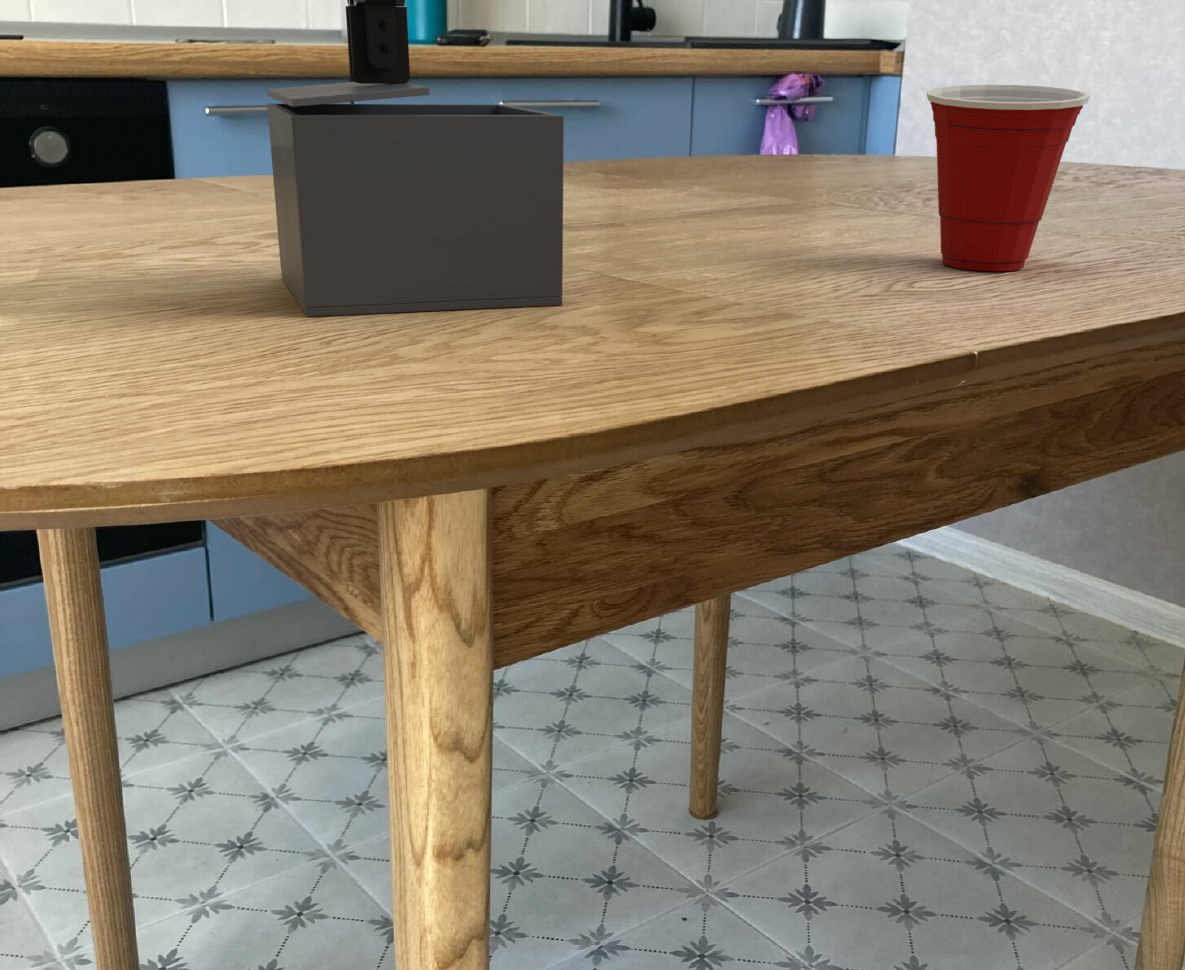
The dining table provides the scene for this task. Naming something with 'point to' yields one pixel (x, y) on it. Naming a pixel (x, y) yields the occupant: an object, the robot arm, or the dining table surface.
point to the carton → (418, 206)
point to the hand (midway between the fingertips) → (380, 82)
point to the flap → (344, 93)
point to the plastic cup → (997, 167)
